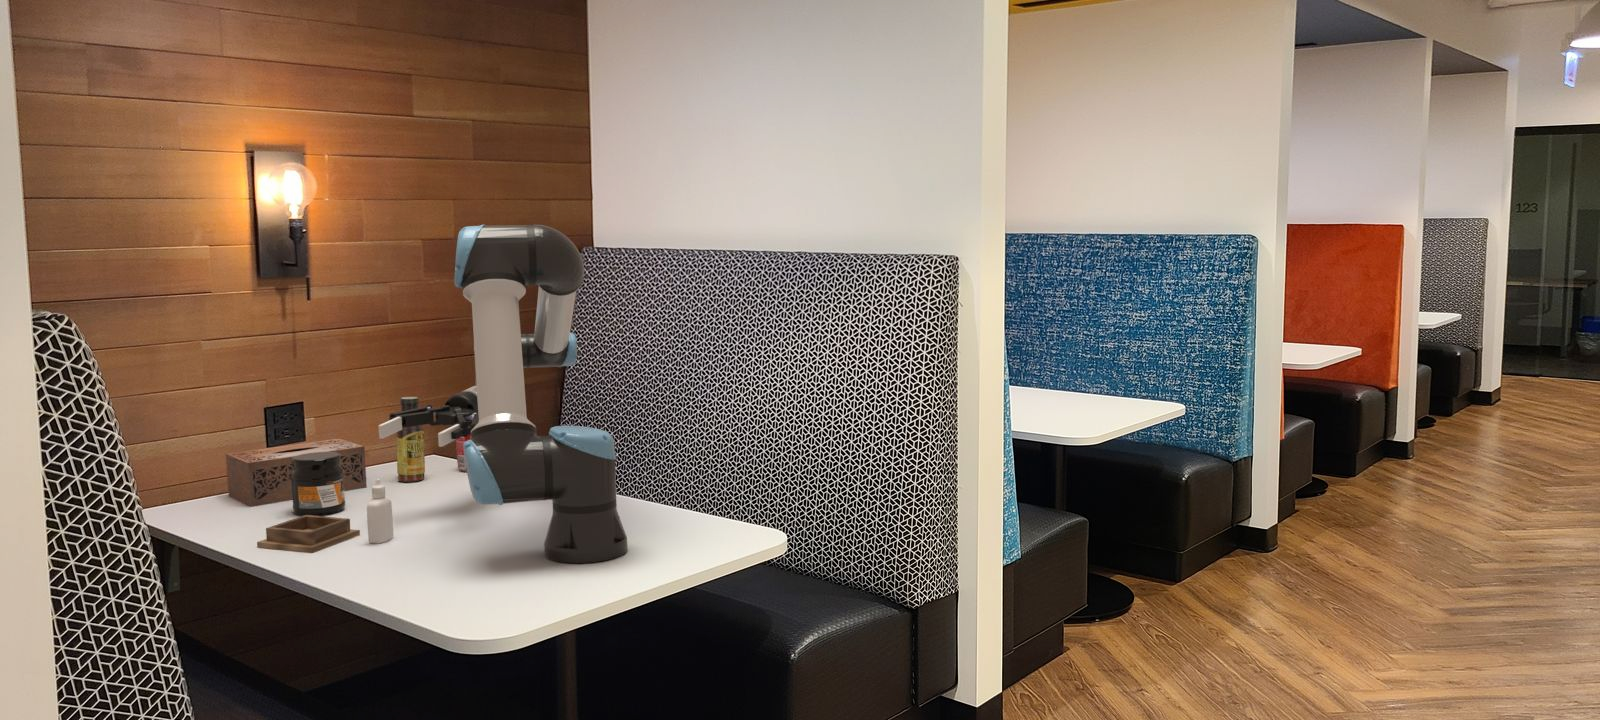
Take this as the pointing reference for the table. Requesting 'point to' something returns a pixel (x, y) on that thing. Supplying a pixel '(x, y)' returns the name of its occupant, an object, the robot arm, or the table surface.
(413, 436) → the sauce bottle
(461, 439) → the soda can
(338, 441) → the tissue box cover
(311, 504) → the supplement container
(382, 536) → the eye dropper bottle
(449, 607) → the table surface
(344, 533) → the square wooden tray stand
